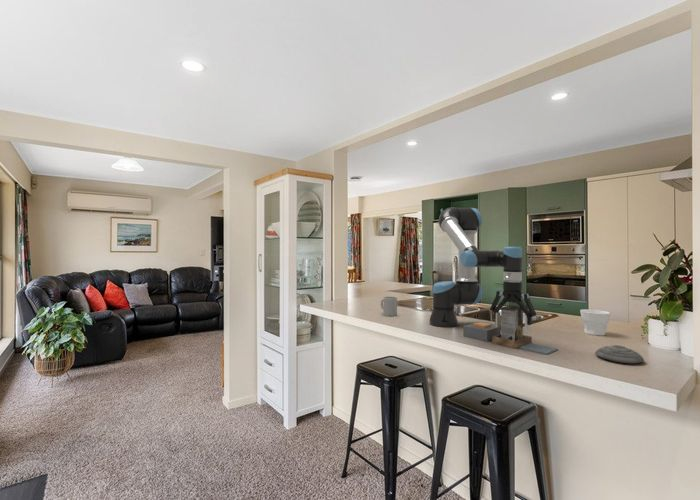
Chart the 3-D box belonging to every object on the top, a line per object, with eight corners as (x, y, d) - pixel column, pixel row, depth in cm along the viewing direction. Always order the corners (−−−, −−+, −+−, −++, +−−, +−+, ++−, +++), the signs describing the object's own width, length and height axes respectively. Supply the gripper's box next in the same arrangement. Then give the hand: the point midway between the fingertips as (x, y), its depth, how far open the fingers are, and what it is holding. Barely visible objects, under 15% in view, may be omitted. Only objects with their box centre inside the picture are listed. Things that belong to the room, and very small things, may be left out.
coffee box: (508, 340, 165) (508, 305, 164) (523, 342, 160) (523, 306, 160) (500, 343, 158) (500, 307, 158) (515, 346, 154) (515, 309, 153)
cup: (575, 330, 186) (576, 308, 186) (602, 331, 183) (602, 309, 183) (586, 335, 174) (586, 313, 173) (615, 337, 171) (615, 314, 171)
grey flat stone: (591, 352, 147) (591, 338, 147) (635, 356, 142) (636, 342, 142) (600, 363, 134) (600, 348, 134) (650, 368, 128) (650, 353, 128)
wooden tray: (491, 343, 159) (492, 336, 159) (507, 338, 168) (507, 331, 168) (516, 348, 150) (516, 341, 150) (531, 343, 159) (531, 336, 159)
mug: (399, 315, 222) (400, 297, 222) (390, 317, 216) (390, 299, 216) (385, 312, 231) (385, 295, 231) (376, 314, 225) (376, 296, 225)
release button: (472, 333, 171) (472, 323, 171) (479, 332, 175) (479, 321, 175) (484, 336, 166) (484, 325, 166) (491, 334, 170) (491, 324, 170)
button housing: (463, 336, 171) (463, 325, 171) (477, 332, 179) (477, 322, 179) (486, 341, 162) (487, 330, 162) (500, 337, 170) (500, 326, 169)
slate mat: (519, 348, 151) (519, 347, 151) (531, 344, 158) (531, 342, 158) (546, 354, 142) (546, 353, 142) (558, 349, 149) (558, 348, 149)
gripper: (482, 279, 166) (482, 325, 166) (537, 284, 147) (536, 336, 147) (491, 278, 171) (490, 323, 171) (545, 283, 152) (544, 333, 152)
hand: (512, 329), depth 159 cm, fingers open, 12 cm apart
